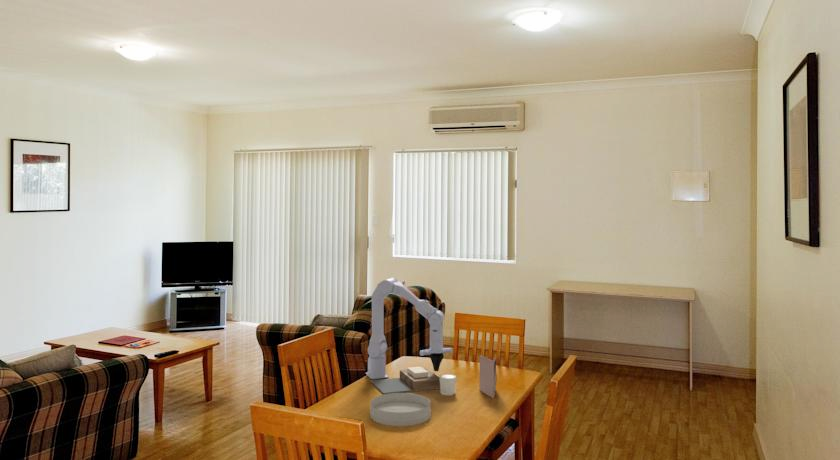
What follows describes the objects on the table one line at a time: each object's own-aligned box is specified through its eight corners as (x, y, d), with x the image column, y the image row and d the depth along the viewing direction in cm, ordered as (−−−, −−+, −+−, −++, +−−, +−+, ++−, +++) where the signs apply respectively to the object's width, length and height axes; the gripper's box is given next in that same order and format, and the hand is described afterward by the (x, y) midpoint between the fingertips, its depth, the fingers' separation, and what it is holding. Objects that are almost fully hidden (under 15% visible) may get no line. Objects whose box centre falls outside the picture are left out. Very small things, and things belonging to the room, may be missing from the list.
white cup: (456, 390, 250) (456, 374, 249) (455, 396, 243) (455, 378, 243) (439, 390, 250) (439, 373, 250) (438, 395, 244) (438, 378, 243)
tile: (407, 372, 262) (407, 367, 262) (420, 370, 264) (420, 366, 264) (414, 378, 254) (414, 373, 254) (428, 376, 256) (428, 371, 256)
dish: (397, 401, 237) (397, 388, 237) (443, 414, 223) (443, 400, 223) (357, 417, 220) (357, 403, 220) (403, 432, 206) (403, 417, 206)
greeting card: (495, 398, 240) (496, 361, 239) (476, 397, 242) (477, 360, 241) (497, 389, 251) (498, 354, 251) (479, 388, 253) (480, 353, 252)
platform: (399, 379, 266) (399, 369, 266) (425, 376, 270) (425, 367, 270) (413, 391, 249) (413, 381, 249) (441, 388, 253) (441, 378, 253)
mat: (371, 382, 261) (371, 380, 261) (398, 379, 266) (398, 377, 266) (383, 394, 244) (383, 393, 244) (412, 391, 249) (412, 389, 249)
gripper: (423, 342, 255) (423, 374, 256) (455, 340, 260) (455, 371, 261) (418, 339, 262) (417, 370, 262) (449, 336, 267) (448, 367, 267)
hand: (436, 370), depth 262 cm, fingers closed
